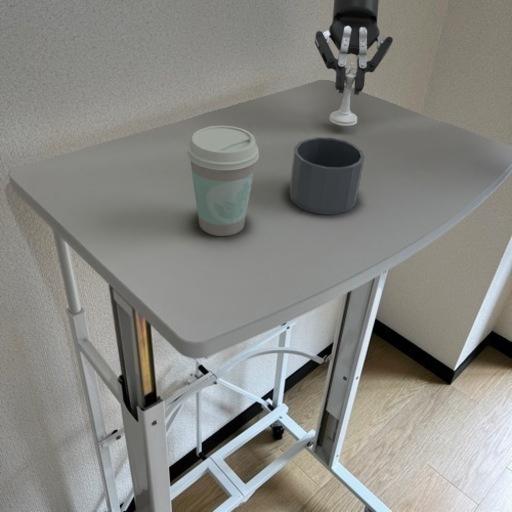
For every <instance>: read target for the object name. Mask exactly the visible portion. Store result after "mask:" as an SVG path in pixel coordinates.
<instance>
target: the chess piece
mask: <svg viewBox="0 0 512 512" xmlns="http://www.w3.org/2000/svg"><path fill="white" fill-rule="evenodd" d="M345 68H346V71H348V72H346V75H345V87H344V93H343V98H342V101H341V102H342V103H341V105H340V108H339V109H338V110H335V111H333V112H331V113H330V114H329V118H328V119H329V121H330V122H331V123H332V124H335V125H338V126H343V127H350V126H354V125H356V124H358V116H357V115H356V113H353V112H352V110H351V94H352V93H354V86H353V85H354V83H355V79H356V73H354V71H357V65H355V63H354V62H350V65H349V66H346V67H345Z"/></svg>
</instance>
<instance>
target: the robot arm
mask: <svg viewBox="0 0 512 512" xmlns="http://www.w3.org/2000/svg"><path fill="white" fill-rule="evenodd" d="M379 3H380V1H379V0H333V9H332V22H331V24H330V26H329V28H328V30H325V31H323V32H322V31H321V30H318V31H316V32H315V37H314V44H315V46H316V48H317V51H318V53H319V54H320V57H321V59H322V60H323V63H324V65H325V67H326V69H328V70H334V71H335V84H334V85H335V86H334V87H335V90H337V91H338V94H343V95H344V93H345V91H344V87H345V86H346V83H345V75H346V73H347V69H346V68H347V67H346V62H347V55H354V56H355V63H356V67H357V70H355V71H356V72H355V74H356V79H355V80H354V86H353V88H354V91H353V95H355V96H359V95H360V92H361V93H362V92H363V90H364V87H365V80H366V74H367V73H374V72H375V70H376V69H377V68H378V66H379V65H380V64H381V62H382V60H383V59H384V58H385V56H386V55H387V53H388V52H389V50H390V48H391V46H392V44H393V41H394V40H393V39H394V38H393V37H391V36H387V37H385V36H384V35H383V34H381V32H380V29H379V27H378V14H379ZM330 39H331V42H332V43H333V44H334V46H335V47H336V49H337V50H338V56H337V58H335V55H334V53H333V51H332V49H331V46H330V45H329V44H330ZM375 42H376V43H377V44H376V49H377V50H376V52H375V53H374V55H373V56H372V58H371V59H370V60H367V54H368V50H369V49H370V48H371V47H372V46H373V45H374V44H375Z"/></svg>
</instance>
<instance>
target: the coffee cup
mask: <svg viewBox="0 0 512 512" xmlns="http://www.w3.org/2000/svg"><path fill="white" fill-rule="evenodd" d="M186 155H187V158H188V159H189V160H190V169H191V175H192V183H193V189H194V196H195V201H196V202H195V203H196V210H197V216H198V217H197V218H198V223H199V227H200V229H201V230H202V231H203V232H204V233H207V234H209V235H212V236H216V237H228V236H232V235H235V234H238V233H239V232H241V231H242V230H243V229H244V228H245V221H246V217H247V212H248V206H249V200H250V194H251V188H252V183H253V178H254V172H255V166H256V162H257V161H258V159H259V158H260V153H259V147H258V145H257V142H256V138H255V136H254V135H253V133H251V132H249V131H248V130H246V129H244V128H240V127H237V126H232V125H212V126H206V127H203V128H200V129H198V130H197V131H195V132H194V133H193V134H192V135H191V139H190V142H189V144H188V145H187V151H186Z"/></svg>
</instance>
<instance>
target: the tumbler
mask: <svg viewBox="0 0 512 512" xmlns="http://www.w3.org/2000/svg"><path fill="white" fill-rule="evenodd" d="M364 162H365V154H364V152H363V150H362V149H360V148H359V146H357V145H356V144H353V143H351V142H348V141H346V140H344V139H339V138H334V137H321V136H320V137H319V136H318V137H312V138H306V139H304V140H301V141H298V142H297V144H295V146H294V148H293V153H292V164H291V175H290V181H289V182H290V183H289V198H290V201H291V202H292V203H293V204H294V205H295V206H297V207H298V208H300V209H302V210H304V211H306V212H310V213H312V214H317V215H327V216H328V215H329V216H331V215H332V216H333V215H340V214H343V213H346V212H349V211H351V210H352V209H353V208H354V206H355V204H356V202H357V198H358V194H359V189H360V184H361V180H362V179H361V178H362V173H363V168H364Z"/></svg>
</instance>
